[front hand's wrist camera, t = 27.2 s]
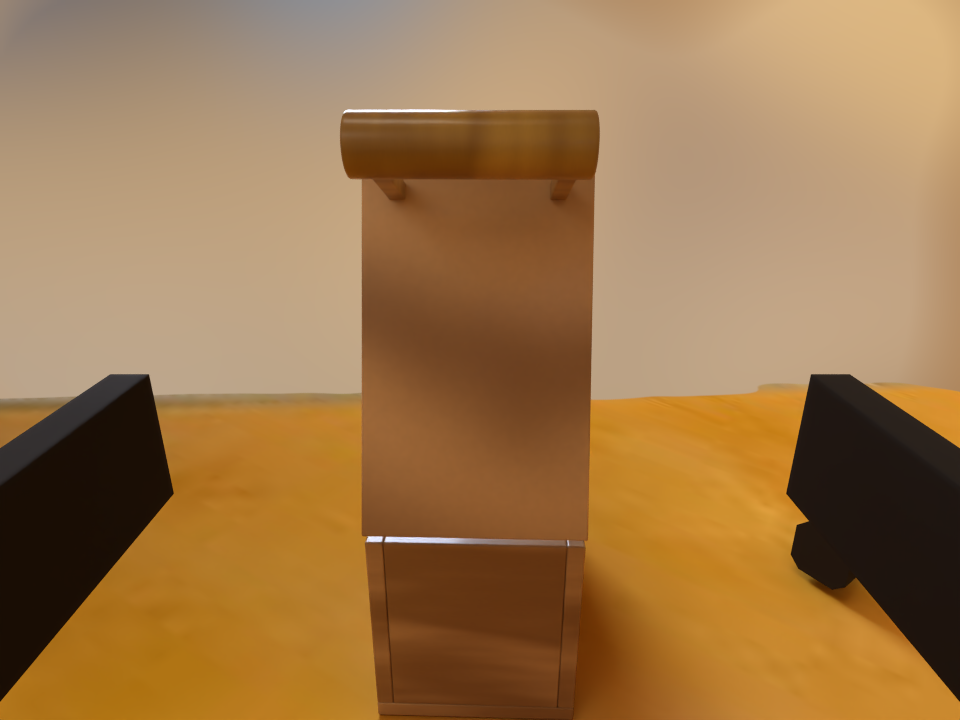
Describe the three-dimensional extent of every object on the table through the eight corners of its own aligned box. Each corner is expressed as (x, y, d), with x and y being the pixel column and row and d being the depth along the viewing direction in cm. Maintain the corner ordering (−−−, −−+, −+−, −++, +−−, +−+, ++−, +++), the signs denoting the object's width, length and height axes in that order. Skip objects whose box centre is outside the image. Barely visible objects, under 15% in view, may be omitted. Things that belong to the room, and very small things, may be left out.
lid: (366, 136, 26) (305, 47, 18) (592, 136, 26) (636, 46, 18) (365, 530, 27) (308, 617, 19) (585, 534, 27) (623, 625, 19)
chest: (419, 518, 46) (414, 391, 42) (548, 520, 46) (554, 393, 42) (378, 715, 31) (364, 542, 27) (572, 720, 30) (585, 547, 27)
